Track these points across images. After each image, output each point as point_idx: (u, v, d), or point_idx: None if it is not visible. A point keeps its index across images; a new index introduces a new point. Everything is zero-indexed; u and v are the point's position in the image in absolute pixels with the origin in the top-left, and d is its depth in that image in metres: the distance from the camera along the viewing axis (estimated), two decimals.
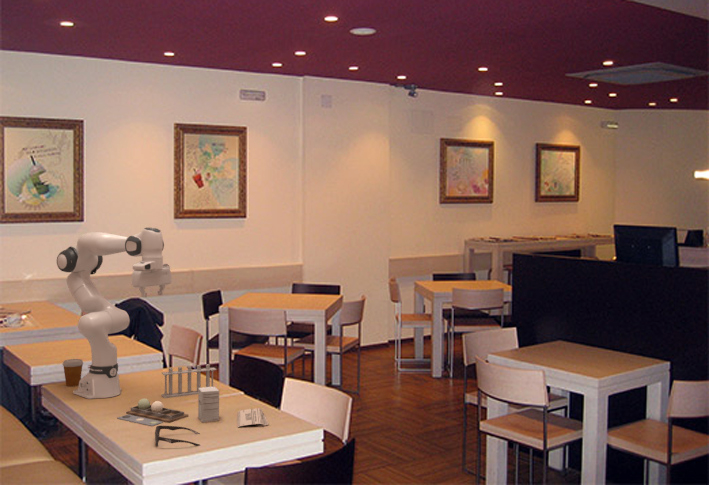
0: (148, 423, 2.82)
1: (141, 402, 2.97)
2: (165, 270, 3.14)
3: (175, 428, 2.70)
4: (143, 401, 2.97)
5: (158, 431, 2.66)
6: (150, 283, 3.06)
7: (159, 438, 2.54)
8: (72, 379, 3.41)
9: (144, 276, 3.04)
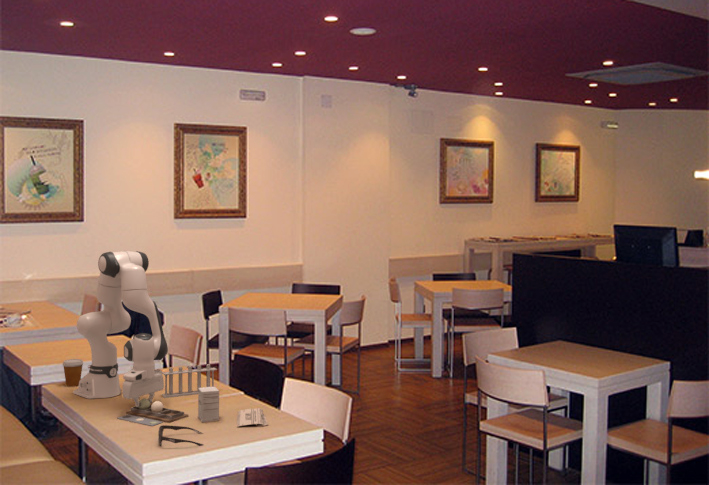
0: (148, 423, 2.82)
1: (141, 402, 2.97)
2: (157, 376, 3.03)
3: (178, 428, 2.70)
4: (143, 401, 2.97)
5: (161, 431, 2.66)
6: (141, 392, 2.95)
7: (163, 438, 2.54)
8: (72, 379, 3.41)
9: (135, 386, 2.93)
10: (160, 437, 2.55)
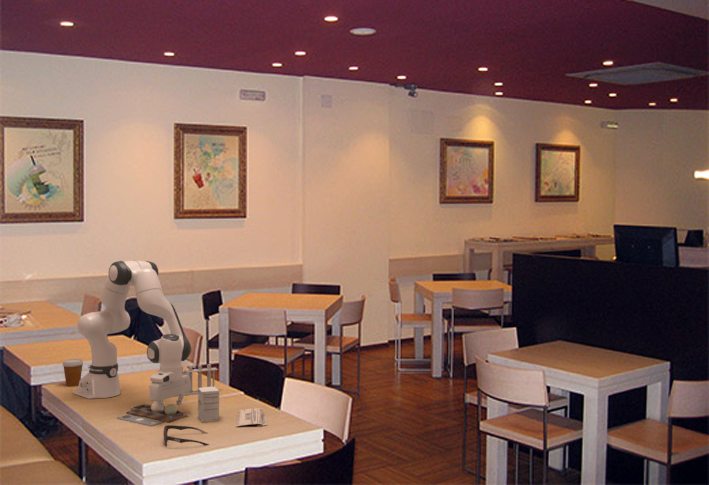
0: (148, 423, 2.82)
1: (168, 408, 2.89)
2: (184, 378, 2.95)
3: (183, 428, 2.70)
4: (170, 406, 2.90)
5: (166, 431, 2.66)
6: (168, 394, 2.87)
7: (168, 438, 2.54)
8: (72, 379, 3.41)
9: (162, 388, 2.85)
10: (165, 437, 2.56)
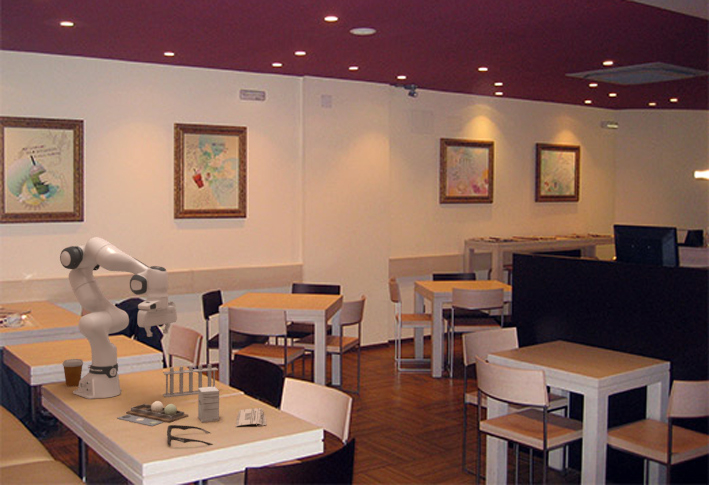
0: (148, 423, 2.82)
1: (168, 408, 2.89)
2: (170, 308, 3.13)
3: (186, 427, 2.70)
4: (170, 407, 2.89)
5: (169, 431, 2.67)
6: (155, 322, 3.05)
7: (172, 438, 2.55)
8: (72, 379, 3.41)
9: (150, 316, 3.03)
10: (169, 437, 2.56)
